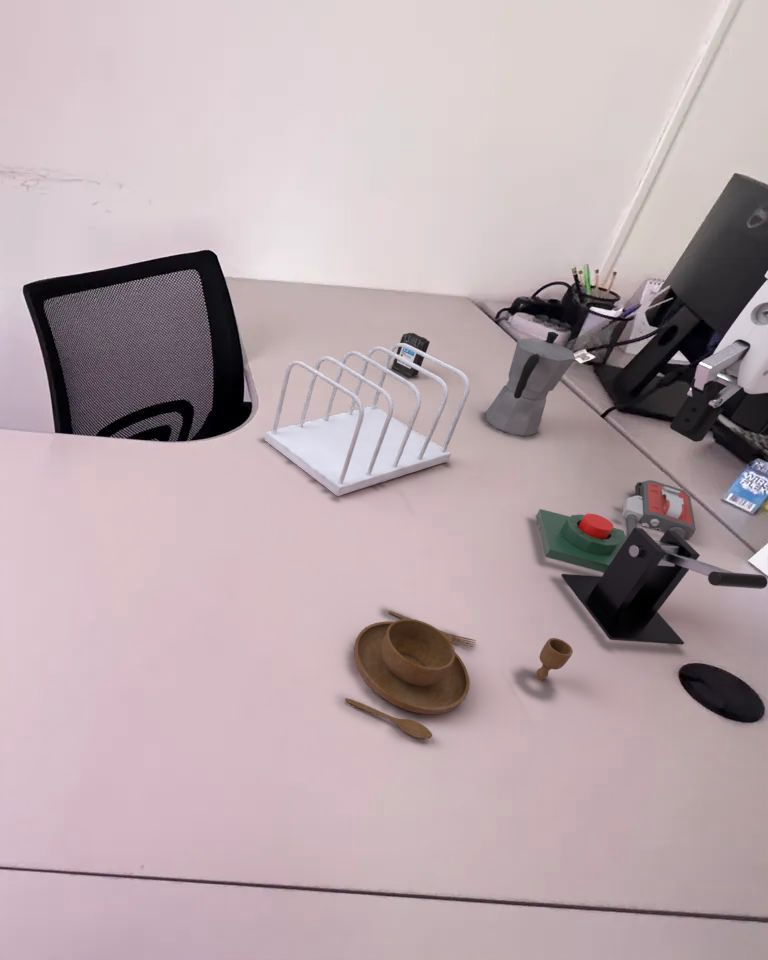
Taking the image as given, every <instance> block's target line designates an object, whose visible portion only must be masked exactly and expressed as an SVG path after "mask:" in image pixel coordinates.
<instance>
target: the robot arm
mask: <svg viewBox="0 0 768 960" xmlns="http://www.w3.org/2000/svg"><path fill="white" fill-rule="evenodd" d="M764 278H765V279H766V281H765V282H763V284H762V285H761V286H760V287H759V288H758V290H757V291H756V293H755V294H754V295H753V296H752V298H751V299H750V300H749V302H748V303H747V304H746V305H745V307H744V308H743V309H742V311H741V312H740V313H739V315H738V316H737V318H736V319H735V320H734V322H733V323H732V324H731V326H730V327H729V329H728V330H727V331H726V333H725V334H724V336H723V338H721V340H720V342H719V344H718V345H717V347H716V348H715V350H714V351H713V353H712V354H711V355H710V356H708V357H706V358H704V359H702V360H701V361H700V362H698V364H697V365H696V369H695V374H694V377H693V378H692V379H691V381H690V388H689V389H688V391H687V393H686V395H687V397H686V398H685V400H684V402H683V404H682V405H681V407H680V409H678V411H677V413H676V415H675V416H674V417H673V420H671V423H670V425H669V428H670V429H671V430H672V431H674V432H675V433H678V434H680V435H681V436H683V437H685V438H686V439H688V440H691V441H692V442H695V443H698V442H702V441H703V440H704V439H705V438H706V436H707V434H708V433H709V431H710V430H711V428H712V427H713V425H714V424H715V422H716V421H717V419H718V418H719V416H720V414H721V413H723V411H724V408H723V407H721V405H723V404H724V403H725V402H726V401H727V400H729V399H730V398H731V397H732V396H733V395H735V394H736V393H737V392H739V391H740V390H741V389H742V388H743V391H744V393H746V395H745V397H744V398H743V399H742V401H741V402H740V404H739V405H738V406H737V408H736V410H735V411H734V412H733V414H732V416H731V417H730V418H731V421H732V422H734V423H736V424H737V425H740V426H742V427H744V428H746V429H748V430H750V431H752V432H753V433H756V434H759V433H765V431H766V430H767V429H768V270H767V271H766V273H765V274H764ZM718 383H719V384H721V385H723V386H725V387H723V388H722V389H721V390H720V391H719V388H718Z"/></svg>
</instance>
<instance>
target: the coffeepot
mask: <svg viewBox="0 0 768 960" xmlns="http://www.w3.org/2000/svg"><path fill="white" fill-rule="evenodd" d="M557 338H559V333H557V332H555V331H548V332H547V336H546V339H540V338H536V337H535V338H534V337H527V338H521V339H520V338H519V339H517V342H516V345H515V349H514V353H513V357H512V361H511V364H510V368H509V371H508V381H507V383H506V385H503V387H502V388H501V390H500V391H499V392H498V394H497V395H496V397H495V398H494V400H493V401H492V403H491V404H490V406H489V407H488V409H487V410H486V411H485V420H486V422H487V423H488V424H489V425H490V426H492V427H493V428H495V429H497V430H498V431H501V432H503V433H506V434H509V435H514V436H520V437H530V436H534V434H537V433H539V428H540V425H541V422H542V419H543V418H542V417H543V414H544V410H545V406H546V404H547V396H548V394H549V392H551V391H554V390H555V388H556V386H557V385H558V384H559V382H560V381H561V379H562V378H563V377H564V375H565V374H566V373H567V371H568V370H569V368H570V367H571V366H572V364H573V363H574V361H576V357H575V354H574V351H573V350H571V349H570V348H567V347H565V346H563V345H562V343H561V342H556V340H557Z"/></svg>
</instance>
